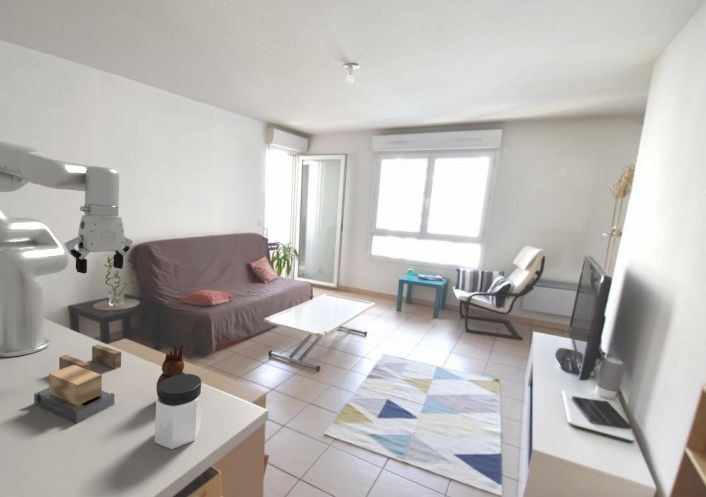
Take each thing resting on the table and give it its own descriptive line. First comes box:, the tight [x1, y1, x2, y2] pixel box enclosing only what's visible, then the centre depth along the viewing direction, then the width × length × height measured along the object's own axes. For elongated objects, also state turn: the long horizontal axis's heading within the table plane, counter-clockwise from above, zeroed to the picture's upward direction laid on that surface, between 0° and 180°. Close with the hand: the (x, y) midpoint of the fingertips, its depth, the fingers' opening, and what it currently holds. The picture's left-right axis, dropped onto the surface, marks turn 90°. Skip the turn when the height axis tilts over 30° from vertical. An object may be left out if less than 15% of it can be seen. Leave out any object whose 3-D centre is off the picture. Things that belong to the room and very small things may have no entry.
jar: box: [154, 373, 203, 450], centre depth 69 cm, size 9×8×12 cm
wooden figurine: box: [155, 343, 186, 396], centre depth 80 cm, size 7×6×15 cm
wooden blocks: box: [58, 343, 122, 371], centre depth 91 cm, size 10×10×4 cm
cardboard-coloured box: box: [48, 365, 103, 406], centre depth 75 cm, size 10×5×5 cm, turn 71°
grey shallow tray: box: [33, 387, 115, 424], centre depth 76 cm, size 15×8×3 cm, turn 71°
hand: (100, 270), depth 92 cm, fingers open, 9 cm apart
